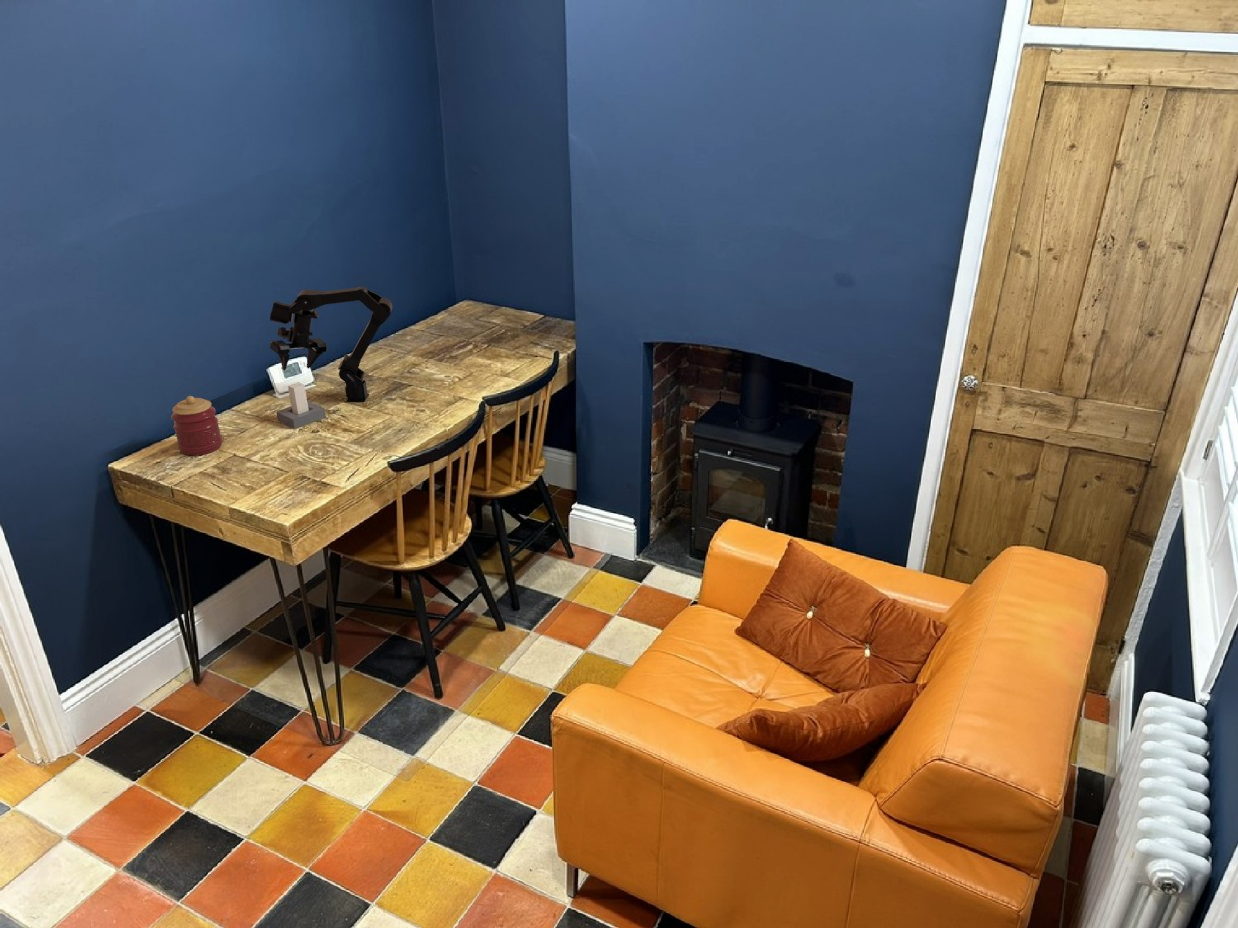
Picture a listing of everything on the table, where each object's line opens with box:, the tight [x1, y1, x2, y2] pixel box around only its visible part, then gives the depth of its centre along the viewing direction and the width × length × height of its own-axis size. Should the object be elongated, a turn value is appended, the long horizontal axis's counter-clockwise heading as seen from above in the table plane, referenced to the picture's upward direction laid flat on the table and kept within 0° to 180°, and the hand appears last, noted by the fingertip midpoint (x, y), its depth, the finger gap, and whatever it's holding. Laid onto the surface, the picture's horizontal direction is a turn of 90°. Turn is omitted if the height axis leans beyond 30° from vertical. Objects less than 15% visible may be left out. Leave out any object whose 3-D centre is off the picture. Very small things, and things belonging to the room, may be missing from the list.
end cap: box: [276, 400, 327, 430], centre depth 317 cm, size 12×10×4 cm
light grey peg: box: [287, 382, 309, 415], centre depth 315 cm, size 4×4×12 cm
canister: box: [170, 395, 223, 456], centre depth 296 cm, size 13×13×18 cm
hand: (296, 369), depth 326 cm, fingers open, 9 cm apart
